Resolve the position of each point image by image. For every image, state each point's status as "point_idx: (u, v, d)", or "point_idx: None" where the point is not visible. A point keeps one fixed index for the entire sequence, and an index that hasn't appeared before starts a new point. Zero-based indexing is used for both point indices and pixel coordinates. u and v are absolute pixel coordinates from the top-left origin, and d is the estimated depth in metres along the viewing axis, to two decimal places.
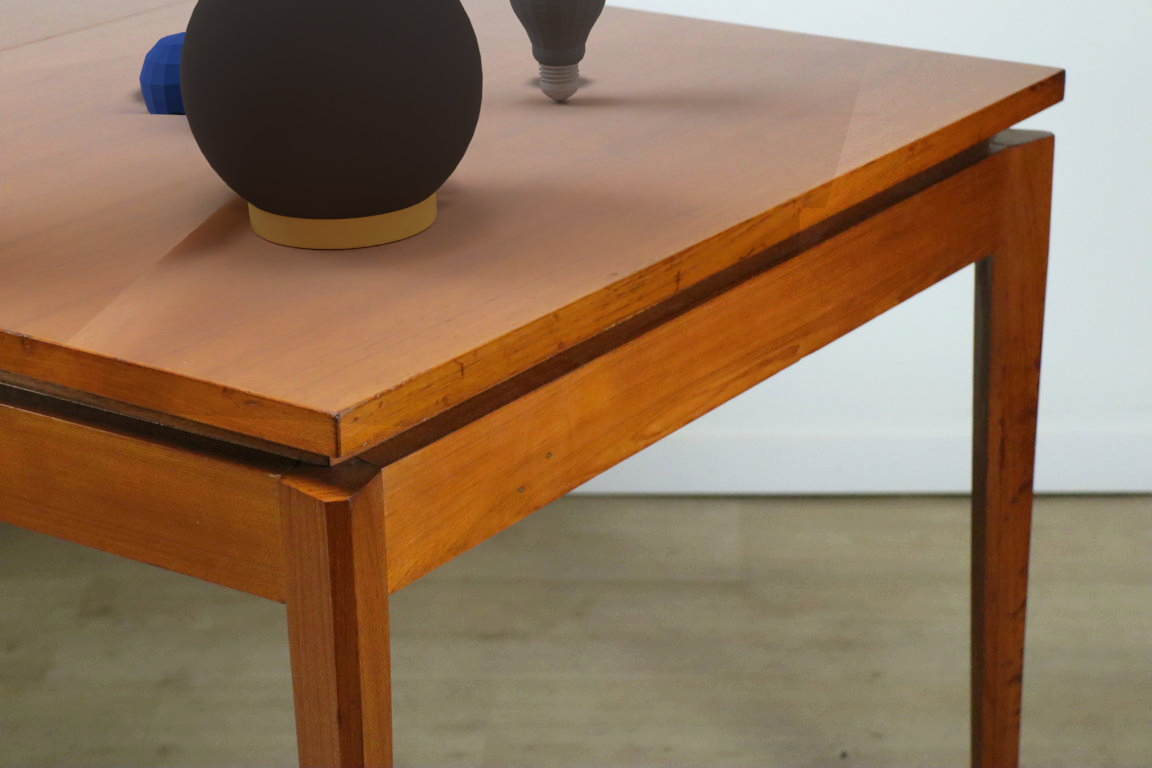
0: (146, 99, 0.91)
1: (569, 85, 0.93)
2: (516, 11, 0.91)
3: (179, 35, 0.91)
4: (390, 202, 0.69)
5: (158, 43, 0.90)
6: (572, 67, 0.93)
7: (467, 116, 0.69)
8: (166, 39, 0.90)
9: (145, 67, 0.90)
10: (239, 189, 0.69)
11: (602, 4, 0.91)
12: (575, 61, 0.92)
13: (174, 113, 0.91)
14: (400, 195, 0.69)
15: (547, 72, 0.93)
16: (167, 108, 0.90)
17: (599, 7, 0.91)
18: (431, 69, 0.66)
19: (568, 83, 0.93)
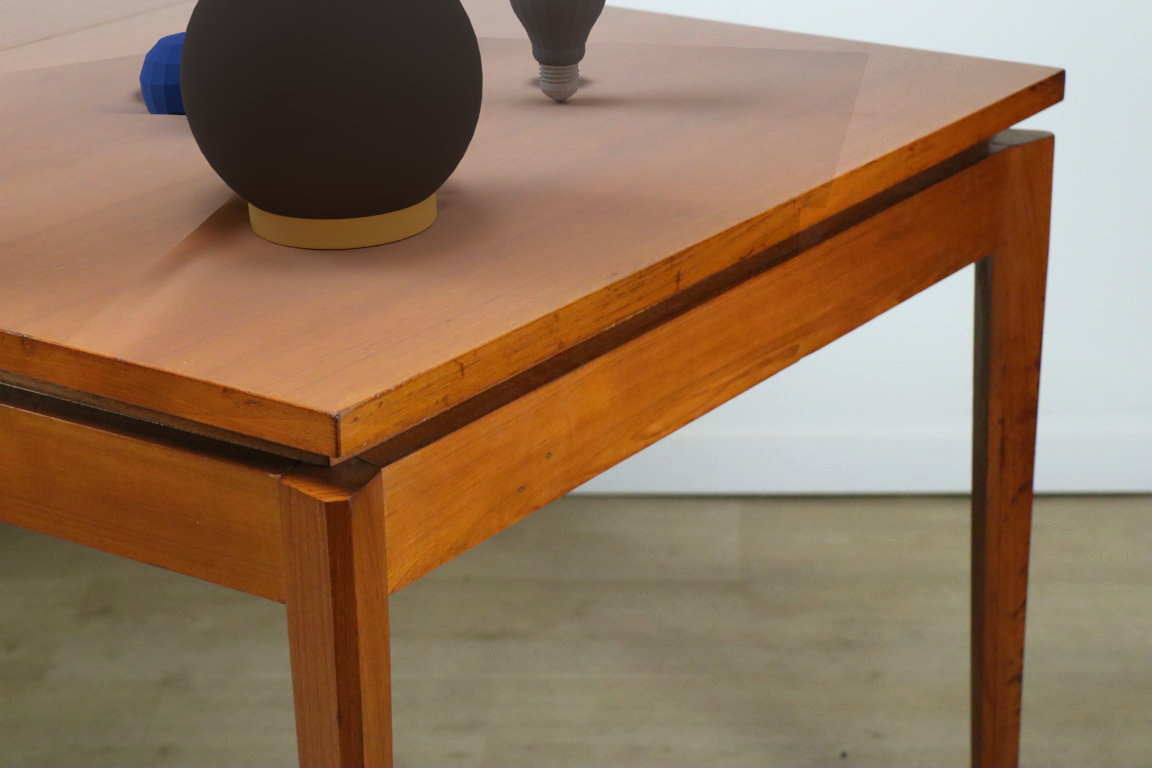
0: (146, 99, 0.91)
1: (569, 85, 0.93)
2: (516, 11, 0.91)
3: (179, 35, 0.91)
4: (390, 202, 0.69)
5: (158, 43, 0.90)
6: (572, 67, 0.93)
7: (467, 116, 0.69)
8: (166, 39, 0.90)
9: (145, 67, 0.90)
10: (239, 189, 0.69)
11: (602, 4, 0.91)
12: (575, 61, 0.92)
13: (174, 113, 0.91)
14: (400, 195, 0.69)
15: (547, 72, 0.93)
16: (167, 108, 0.90)
17: (599, 7, 0.91)
18: (431, 69, 0.66)
19: (568, 83, 0.93)
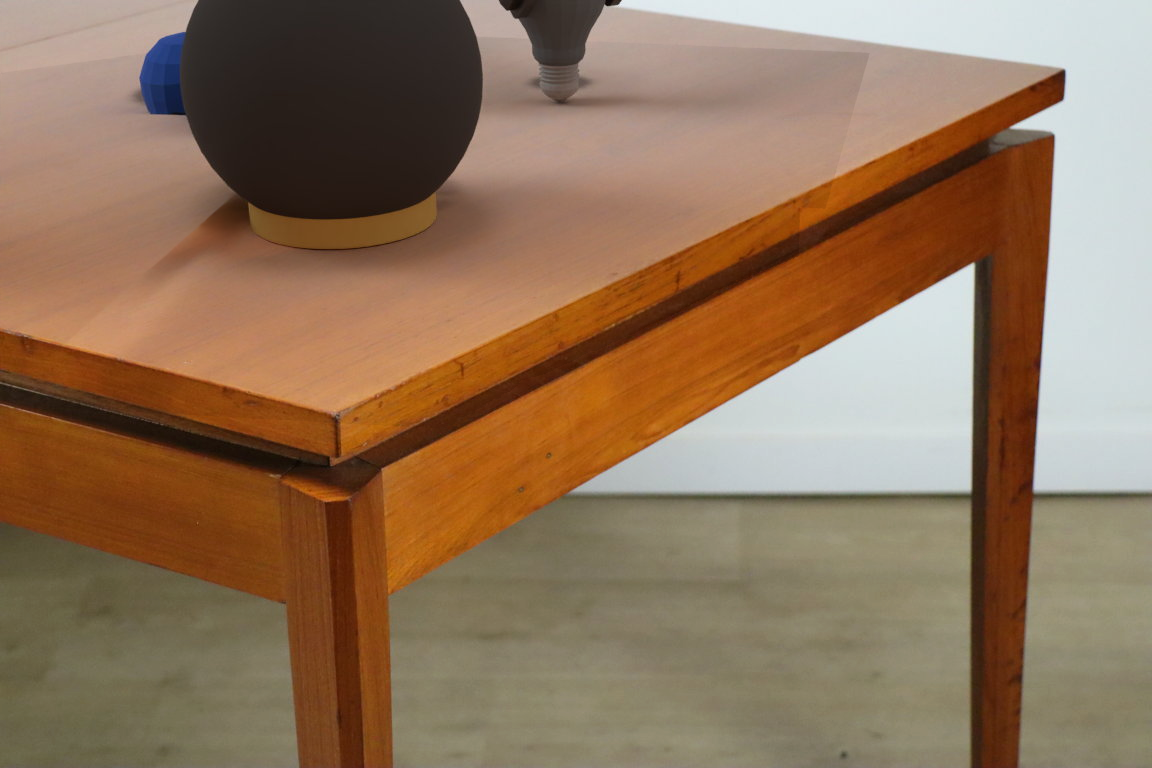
0: (146, 99, 0.91)
1: (569, 85, 0.93)
2: None
3: (179, 35, 0.91)
4: (390, 202, 0.69)
5: (158, 43, 0.90)
6: (572, 67, 0.93)
7: (467, 116, 0.69)
8: (166, 39, 0.90)
9: (145, 67, 0.90)
10: (239, 189, 0.69)
11: (602, 4, 0.91)
12: (575, 61, 0.92)
13: (174, 113, 0.91)
14: (400, 195, 0.69)
15: (547, 72, 0.93)
16: (167, 108, 0.90)
17: (599, 7, 0.91)
18: (431, 69, 0.66)
19: (568, 83, 0.93)
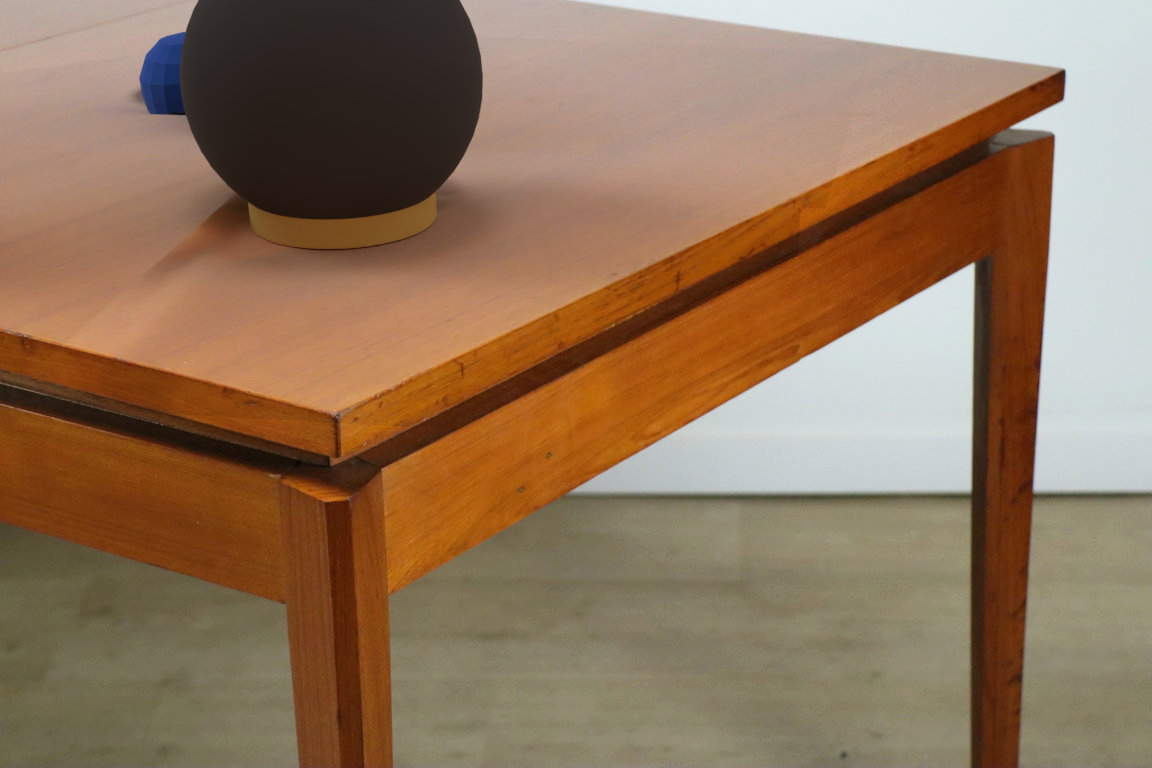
0: (146, 99, 0.91)
1: None
2: None
3: (179, 35, 0.91)
4: (390, 202, 0.69)
5: (158, 43, 0.90)
6: None
7: (467, 116, 0.69)
8: (166, 39, 0.90)
9: (145, 67, 0.90)
10: (239, 189, 0.69)
11: None
12: None
13: (174, 113, 0.91)
14: (400, 195, 0.69)
15: None
16: (167, 108, 0.90)
17: None
18: (431, 69, 0.66)
19: None
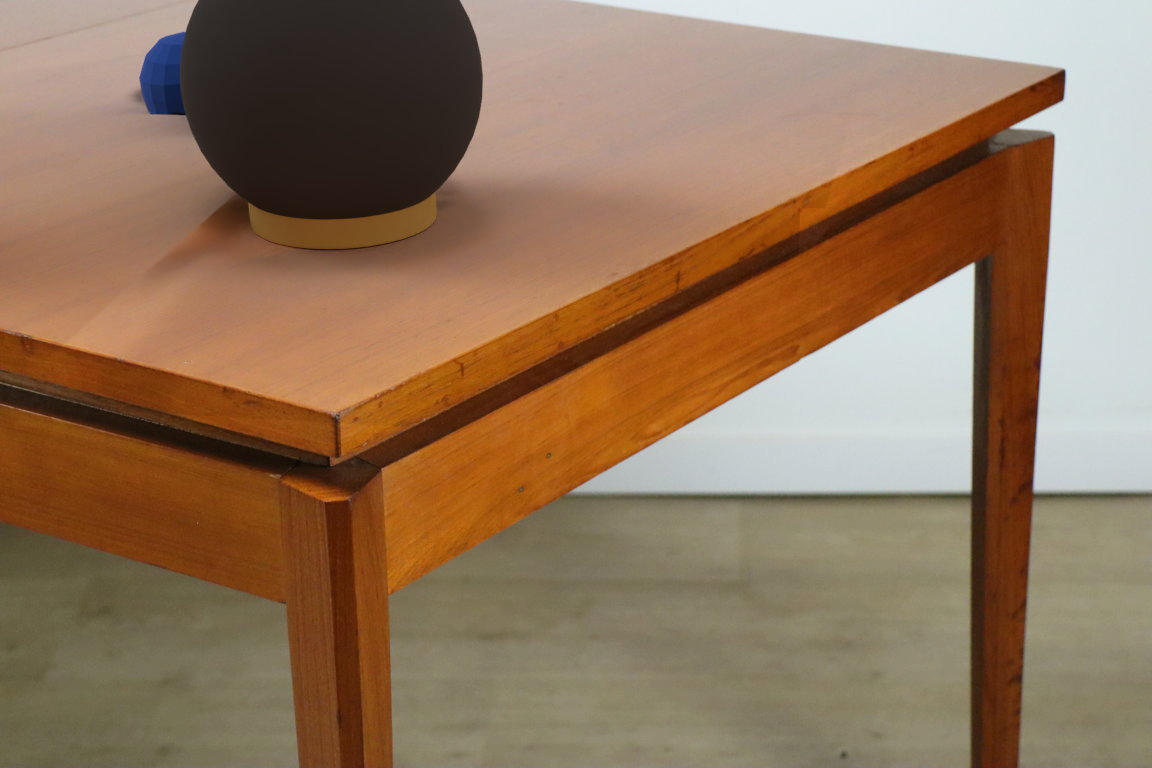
0: (146, 99, 0.91)
1: None
2: None
3: (179, 35, 0.91)
4: (390, 202, 0.69)
5: (158, 43, 0.90)
6: None
7: (467, 116, 0.69)
8: (166, 39, 0.90)
9: (145, 67, 0.90)
10: (239, 189, 0.69)
11: None
12: None
13: (174, 113, 0.91)
14: (400, 195, 0.69)
15: None
16: (167, 108, 0.90)
17: None
18: (431, 69, 0.66)
19: None
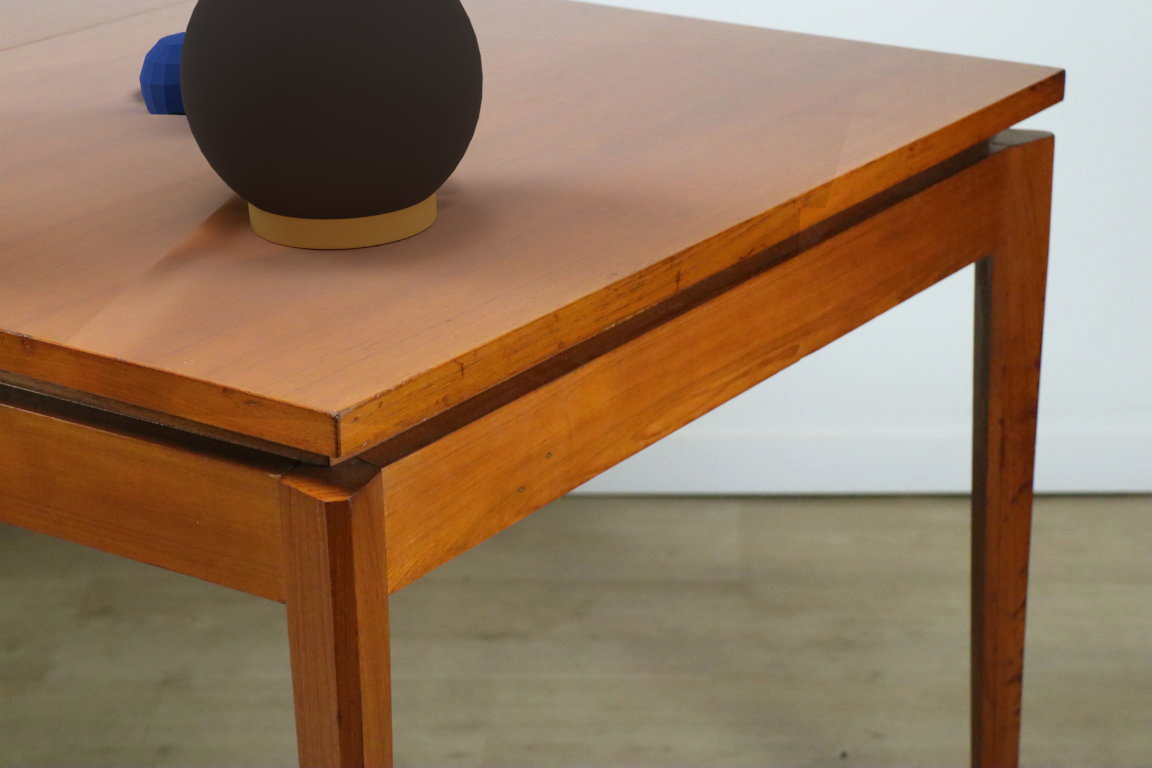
0: (146, 99, 0.91)
1: None
2: None
3: (179, 35, 0.91)
4: (390, 202, 0.69)
5: (158, 43, 0.90)
6: None
7: (467, 116, 0.69)
8: (166, 39, 0.90)
9: (145, 67, 0.90)
10: (239, 189, 0.69)
11: None
12: None
13: (174, 113, 0.91)
14: (400, 195, 0.69)
15: None
16: (167, 108, 0.90)
17: None
18: (431, 69, 0.66)
19: None
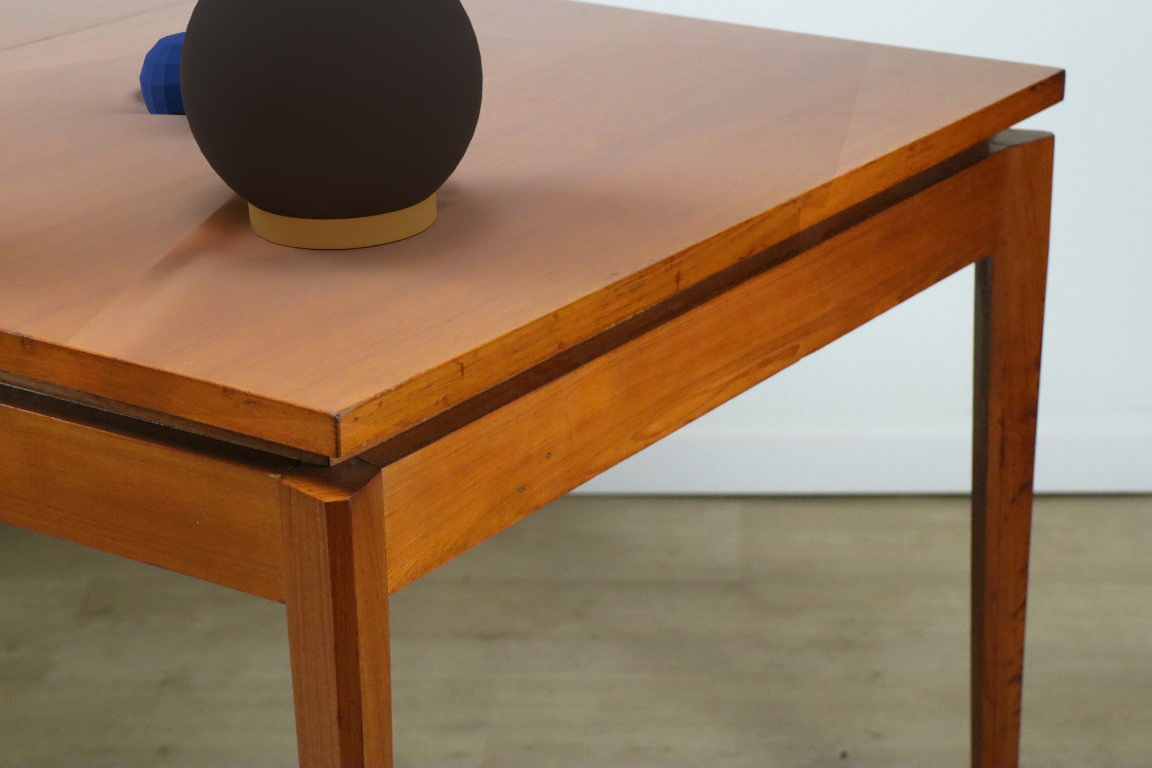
0: (146, 99, 0.91)
1: None
2: None
3: (179, 35, 0.91)
4: (390, 202, 0.69)
5: (158, 43, 0.90)
6: None
7: (467, 116, 0.69)
8: (166, 39, 0.90)
9: (145, 67, 0.90)
10: (239, 189, 0.69)
11: None
12: None
13: (174, 113, 0.91)
14: (400, 195, 0.69)
15: None
16: (167, 108, 0.90)
17: None
18: (431, 69, 0.66)
19: None
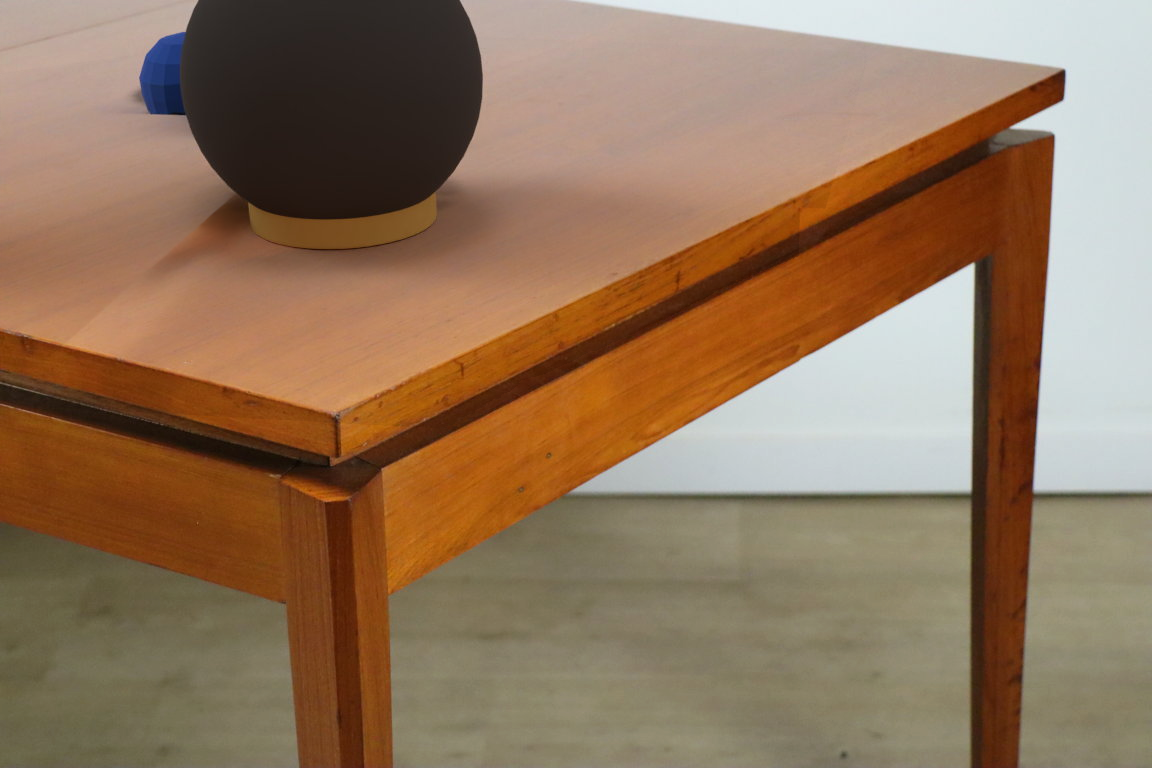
0: (146, 99, 0.91)
1: None
2: None
3: (179, 35, 0.91)
4: (390, 202, 0.69)
5: (158, 43, 0.90)
6: None
7: (467, 116, 0.69)
8: (166, 39, 0.90)
9: (145, 67, 0.90)
10: (239, 189, 0.69)
11: None
12: None
13: (174, 113, 0.91)
14: (400, 195, 0.69)
15: None
16: (167, 108, 0.90)
17: None
18: (431, 69, 0.66)
19: None
